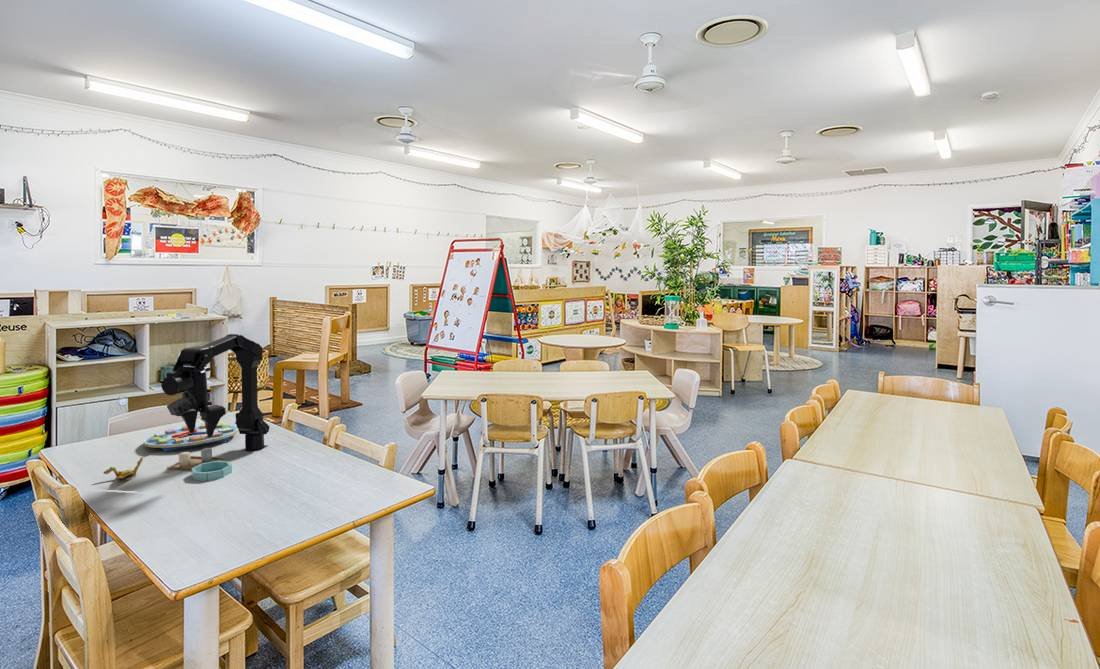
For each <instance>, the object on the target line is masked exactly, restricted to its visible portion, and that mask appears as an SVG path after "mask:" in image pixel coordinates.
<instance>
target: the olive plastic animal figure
mask: <svg viewBox="0 0 1100 669" xmlns="http://www.w3.org/2000/svg"><path fill="white" fill-rule="evenodd" d="M143 460H144V456H142V457H140V458H139V460H138V461H136V465H135V466H134V468H133V469H130V468H129V469H126V470H122V471H121V470H119V471H118V470H117V467H115V466H114V467H113V466H110V467H109V468H108V469H106V470H105V471H103V474H104V475H107V474H110V473H111V472H114V474H115V477H116V479H117V480H118V481H121V480H122V479H125V477H127V476H129V475H131V477H132V479H134V478H136V475H137V472H138V470H139V467H140V466H141V464H142V462H143Z"/></svg>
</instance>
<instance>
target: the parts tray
mask: <svg viewBox="0 0 1100 669" xmlns="http://www.w3.org/2000/svg"><path fill="white" fill-rule="evenodd" d="M212 459H213V461H224V459H225V458H224V457H219V456H212ZM190 461H191V466H190V467H187V468H183V467H179V461H177V462H175V463H174V464H171V465H169V466H167V467H166V470H171V471H174V470H175V471H191V472H192V468H194V467H196V466H198V465H200V464H202V460H201V455H199V456H198V455H197V456H196V455H190Z"/></svg>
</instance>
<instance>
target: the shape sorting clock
mask: <svg viewBox="0 0 1100 669" xmlns="http://www.w3.org/2000/svg"><path fill="white" fill-rule="evenodd" d="M238 433H239V430H238V428H237V425H236V424H227V423H226V424H224V423H222V422H218V424H217V426H216V428H215V431H214V433H213V435H212V436H211V437H208V435H207V431H206V426H205V422H203V423H201V425H195V429H194V432H192V433H190V432H189V430H188V428H187V426H186V425H183V426H182V427H180V428H168V429H165V431H163V432H156V433H153V435H151V436H149V437H146V438H145V439H144V440H143V445H144V446H145V447H149V448H155V449H156V448H157V449H158V448H159V449H163V452H164V453H165V452H170V451H175V450H181V449H189V448H194V447H198V446H206V445H209V444H210V445H211V444H216V443H219V442H224V443H226V442H225V441H229V442H230V437H232V436H234V435H236V434H238Z"/></svg>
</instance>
